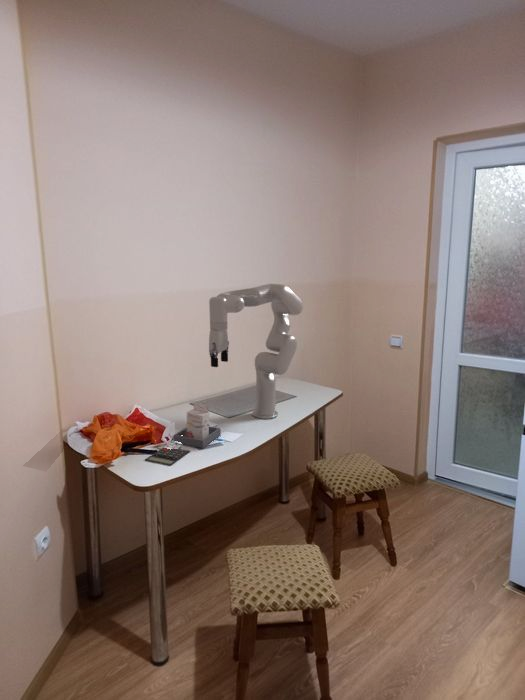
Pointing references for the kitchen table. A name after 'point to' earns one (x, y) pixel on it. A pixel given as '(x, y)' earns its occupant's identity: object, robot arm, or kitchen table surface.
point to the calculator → (167, 456)
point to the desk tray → (197, 443)
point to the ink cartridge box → (198, 422)
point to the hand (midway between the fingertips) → (219, 364)
